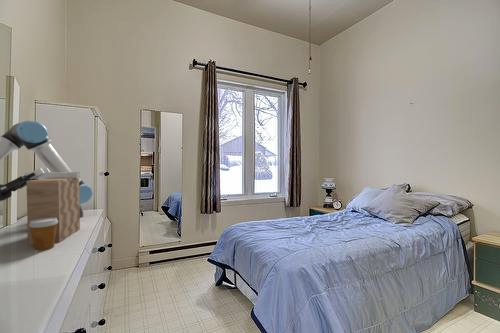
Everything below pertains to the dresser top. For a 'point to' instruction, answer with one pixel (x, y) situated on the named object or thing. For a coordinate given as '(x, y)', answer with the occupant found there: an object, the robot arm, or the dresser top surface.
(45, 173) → the steel bar
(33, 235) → the disposable coffee cup
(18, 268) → the dresser top surface
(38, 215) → the walnut shelf
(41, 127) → the robot arm
